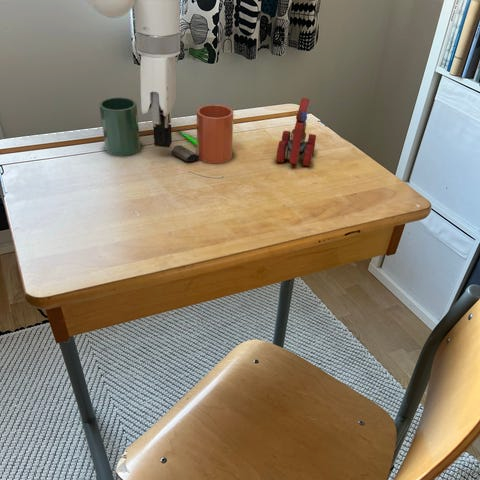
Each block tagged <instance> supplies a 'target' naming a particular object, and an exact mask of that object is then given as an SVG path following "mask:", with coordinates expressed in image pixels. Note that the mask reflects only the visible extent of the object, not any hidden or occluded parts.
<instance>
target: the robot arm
mask: <svg viewBox="0 0 480 480" xmlns="http://www.w3.org/2000/svg"><path fill="white" fill-rule="evenodd" d="M85 1H86V2H87V4H88V5H89V6H90V7H91V8H92V9H93V10H94V11H96V12H97V13H98V14H100V15H102V16H104V17H107V18H110V19H115V18H116V19H117V18H122V17H123V16H126V15H127V14H128V13H129V12H131V10H132V8H133V12H134V13H133V14H134V26H135V27H134V28H135V41H136V43H135V44H136V52H137V53H138V54H139V55H140V65H139V66H140V68H139V69H140V70H139V71H140V73H139V75H140V76H139V78H140V79H139V80H140V86H139V87H140V111H141V114H143V115H147V114H149V112H150V109H151V123H152V130H153V133H152V134H153V145H154V146H155V147H160V148H171V146H172V143H173V135H172V123H171V122H172V109H173V107H174V105H175V103H176V99H177V65H176V56H179V55H180V54H181V14H180V13H181V12H180V11H181V9H180V6H181V5H180V0H85Z"/></svg>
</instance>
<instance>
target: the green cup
mask: <svg viewBox="0 0 480 480" xmlns="http://www.w3.org/2000/svg"><path fill="white" fill-rule="evenodd" d="M98 105H99V114H100V119H101V120H100V121H101V128H102V134H103V142H104V149H105V151H106V153H108V154H110V155H113V156H118V157H126V156H131V155H134V154H137V153H139V151H140V150H141V138H140V137H141V136H140V127H139V126H140V125H139V115H138V105H137V102H136V100H133V99H132V98H128V97H120V96H119V97H109V98H105V99H103V100H101V101H100V102H99V103H98Z"/></svg>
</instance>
